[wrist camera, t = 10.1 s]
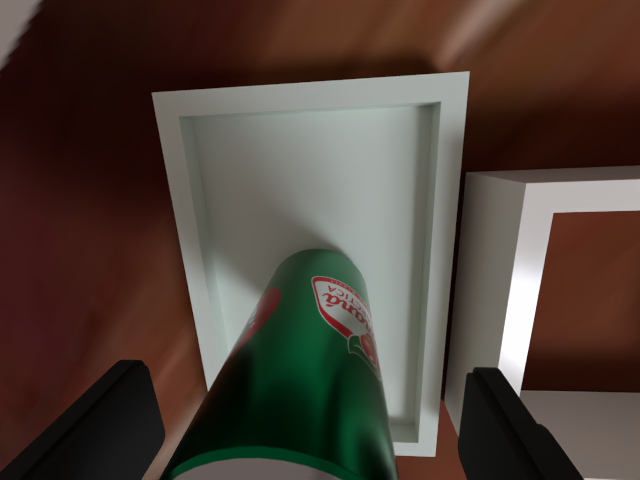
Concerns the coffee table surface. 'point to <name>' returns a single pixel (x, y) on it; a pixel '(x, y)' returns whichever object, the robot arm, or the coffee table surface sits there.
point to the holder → (520, 303)
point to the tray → (325, 212)
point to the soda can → (296, 386)
